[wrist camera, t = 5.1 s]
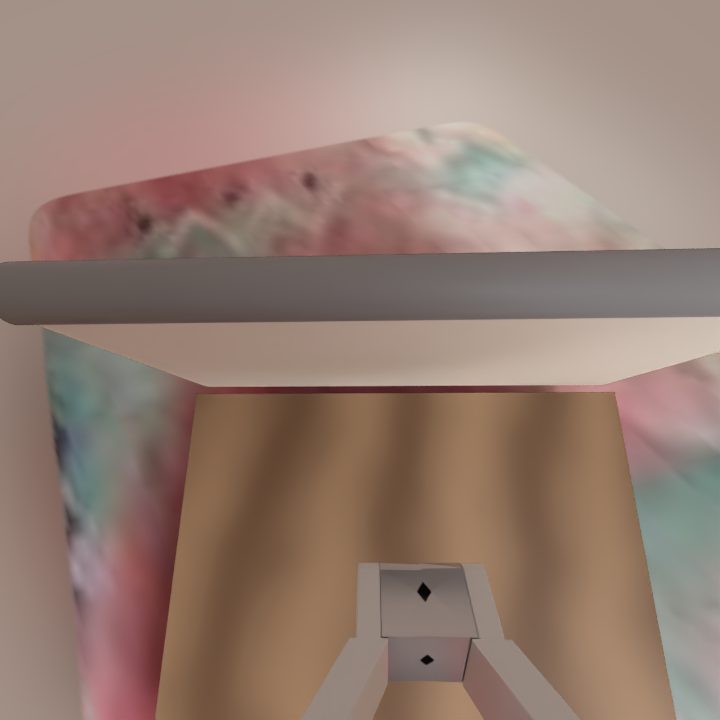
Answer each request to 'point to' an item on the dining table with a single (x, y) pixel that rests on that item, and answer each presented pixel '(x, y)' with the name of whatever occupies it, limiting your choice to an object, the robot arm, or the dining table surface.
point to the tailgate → (384, 315)
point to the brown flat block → (406, 546)
